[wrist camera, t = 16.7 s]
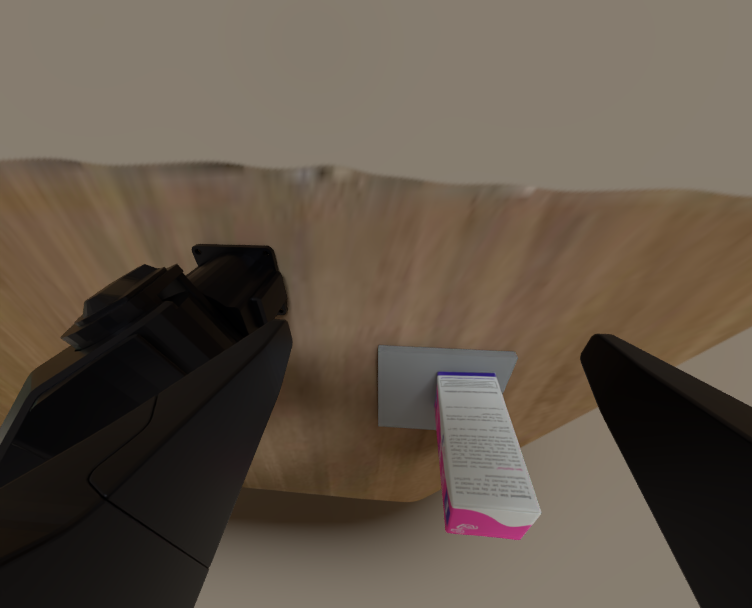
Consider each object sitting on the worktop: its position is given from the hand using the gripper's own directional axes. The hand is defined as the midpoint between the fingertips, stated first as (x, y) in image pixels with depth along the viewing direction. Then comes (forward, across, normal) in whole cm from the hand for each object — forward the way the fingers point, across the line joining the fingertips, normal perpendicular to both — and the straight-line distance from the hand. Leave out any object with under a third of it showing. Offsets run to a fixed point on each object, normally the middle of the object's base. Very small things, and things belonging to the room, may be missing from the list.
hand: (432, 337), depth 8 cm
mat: (+13, -4, +20) cm, 24 cm away
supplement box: (+12, -6, +18) cm, 23 cm away
